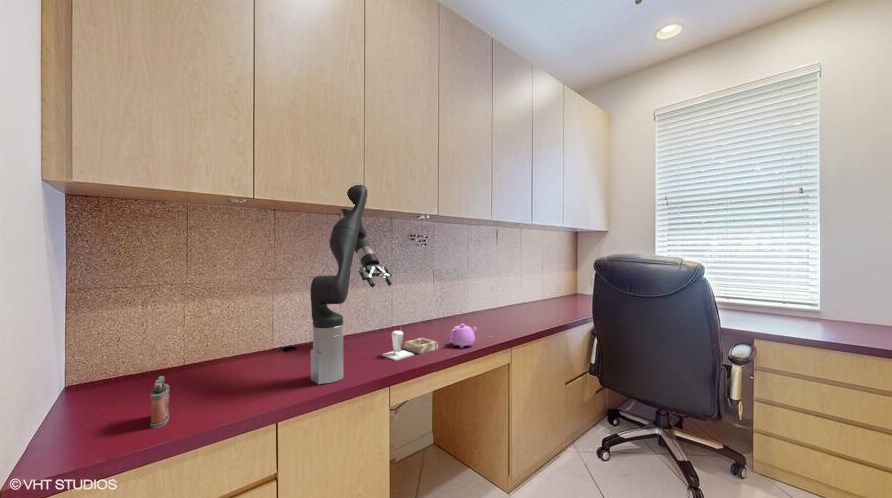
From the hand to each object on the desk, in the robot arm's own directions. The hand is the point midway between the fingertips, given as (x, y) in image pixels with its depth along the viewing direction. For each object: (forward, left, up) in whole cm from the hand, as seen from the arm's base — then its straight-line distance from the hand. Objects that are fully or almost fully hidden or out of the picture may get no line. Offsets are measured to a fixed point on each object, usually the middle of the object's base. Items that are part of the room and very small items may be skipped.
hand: (382, 285), depth 141 cm
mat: (-2, -14, -27) cm, 30 cm away
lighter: (-73, -13, -27) cm, 79 cm away
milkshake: (-2, -13, -26) cm, 30 cm away
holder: (+10, -14, -27) cm, 32 cm away
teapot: (+27, -23, -27) cm, 44 cm away
